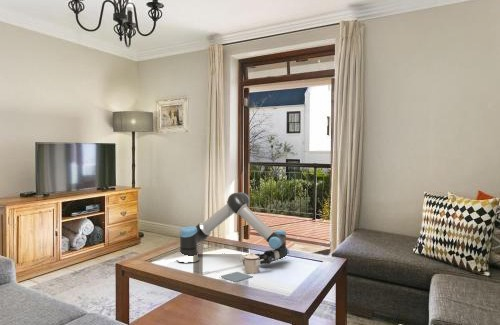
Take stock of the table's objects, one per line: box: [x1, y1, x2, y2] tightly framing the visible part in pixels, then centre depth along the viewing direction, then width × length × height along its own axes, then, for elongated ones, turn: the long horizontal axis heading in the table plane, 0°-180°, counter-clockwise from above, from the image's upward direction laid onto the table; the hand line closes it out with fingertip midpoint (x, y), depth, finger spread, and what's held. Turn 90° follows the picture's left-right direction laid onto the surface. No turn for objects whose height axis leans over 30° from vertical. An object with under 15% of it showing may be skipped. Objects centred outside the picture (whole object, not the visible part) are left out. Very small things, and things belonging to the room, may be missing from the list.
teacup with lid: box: [242, 252, 260, 275], centre depth 192 cm, size 12×9×12 cm
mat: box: [220, 271, 254, 283], centre depth 179 cm, size 14×14×1 cm
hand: (247, 261), depth 190 cm, fingers open, 13 cm apart
